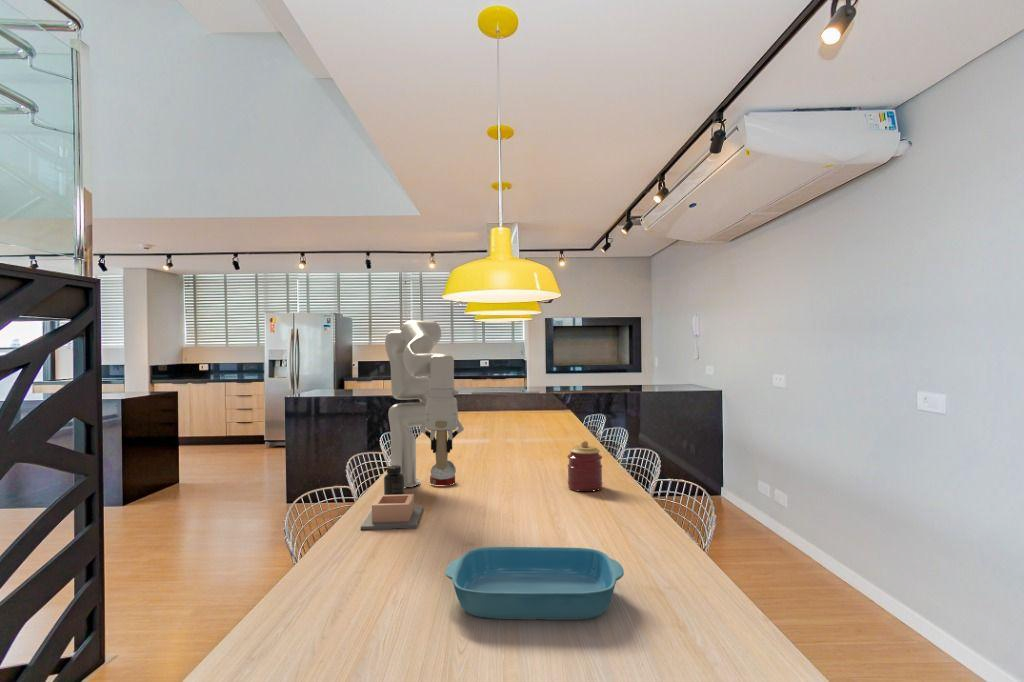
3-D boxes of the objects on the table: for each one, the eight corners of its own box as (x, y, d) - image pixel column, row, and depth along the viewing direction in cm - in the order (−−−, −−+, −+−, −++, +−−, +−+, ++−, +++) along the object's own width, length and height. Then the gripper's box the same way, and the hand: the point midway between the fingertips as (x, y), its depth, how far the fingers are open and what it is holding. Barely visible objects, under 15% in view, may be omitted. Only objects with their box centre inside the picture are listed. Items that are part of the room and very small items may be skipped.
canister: (564, 491, 189) (564, 443, 189) (571, 482, 201) (570, 437, 201) (600, 494, 185) (599, 444, 185) (604, 484, 197) (604, 438, 198)
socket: (373, 510, 168) (373, 492, 168) (423, 509, 169) (422, 491, 169) (360, 530, 150) (360, 509, 150) (416, 528, 151) (416, 507, 151)
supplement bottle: (406, 498, 181) (406, 464, 181) (400, 504, 174) (400, 469, 174) (387, 498, 182) (387, 464, 182) (381, 504, 175) (380, 468, 175)
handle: (449, 465, 165) (450, 419, 165) (448, 470, 159) (448, 422, 159) (434, 465, 165) (434, 419, 165) (432, 471, 158) (433, 422, 158)
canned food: (455, 493, 204) (465, 472, 202) (438, 497, 195) (449, 475, 194) (436, 477, 210) (447, 456, 208) (419, 479, 201) (430, 458, 200)
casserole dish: (435, 626, 97) (435, 588, 97) (455, 575, 120) (455, 544, 120) (632, 631, 95) (632, 592, 95) (615, 578, 117) (615, 546, 117)
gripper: (468, 392, 166) (468, 449, 166) (416, 392, 165) (416, 449, 165) (468, 395, 159) (467, 454, 159) (413, 395, 158) (413, 455, 158)
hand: (441, 451), depth 162 cm, fingers closed on handle, 3 cm apart
